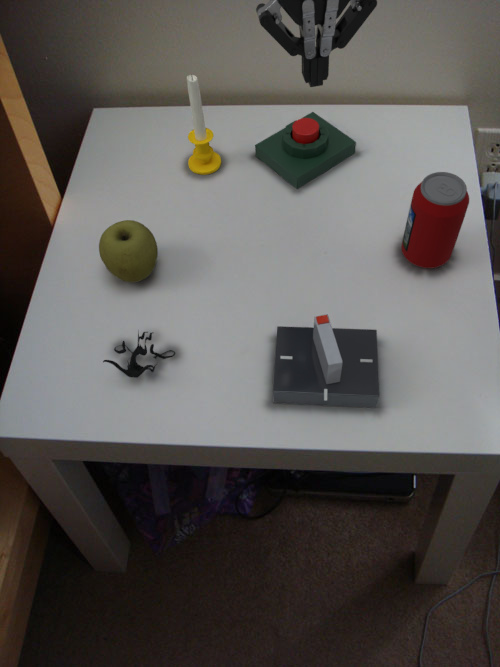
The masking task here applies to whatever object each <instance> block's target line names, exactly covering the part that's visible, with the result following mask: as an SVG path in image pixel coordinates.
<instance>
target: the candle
mask: <svg viewBox="0 0 500 667" xmlns="http://www.w3.org/2000/svg"><path fill="white" fill-rule="evenodd" d="M186 83H187V84H186V85H187V92H188V99H189V105H190V111H191V117H192V124H193V125H192V126H193V129H192V130H191V131H189V132H188V135H187V139H188V142H190V143H191V144H193V145H194V149H193V150H192V154H191V156H190V157H189V159H188V160H187V166H188V168H189V170H190V171H191V172H192V173H194V174H196V175H200V176H205V175H210V174H213V173H215V172H216V171H218V170H220V168H221V166H222V157H221V155H220V154H219V153H218V152H216V151H215V150H214V147H212V146H211V145H210V142H211V141H212V140H213V139H214V137H215V136H214V134H215V133H214V132H213V130H212V129H210V128H208V127H206V123H205V122H206V121H205V116H204V109H203V103H202V102H203V101H202V96H201V89H200V85H199V79H198V77H197V76H196V75H194V74H192V73H191V74H189V75H187V76H186Z"/></svg>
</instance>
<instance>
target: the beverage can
mask: <svg viewBox="0 0 500 667" xmlns="http://www.w3.org/2000/svg"><path fill="white" fill-rule="evenodd" d="M469 205H470V195H469V193H468V188H467V184H466V182H465V181H464V180H463V179H462V178H461V177H460V176H458V175H456V174H454V173H451V172H447V171H436V172H432V173H429V174H428V175H426V176H425V177H424V178H423V179H422V181H421V182H419V183H418V184H417V185H416V186H415V188H414V190H413V192H412V197H411V200H410V206H409V210H408V214H407V218H406V223H405V227H404V230H403V231H404V232H403V236H402V241H401V245H400V246H401V253H402V255H403V257H404V258H405V259H406V260H407V262H409V263H411V264H412V265H414V266H416V267H419V268H423V269H435V268H439V267H442V266H443V265H445V264H447V262H449V260H450V259H451V257H452V255H453V252H454V249H455V246H456V243H457V240H458V238H459V235H460V232H461V229H462V226H463V223H464V220H465V217H466V214H467V211H468V208H469Z"/></svg>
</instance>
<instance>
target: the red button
mask: <svg viewBox="0 0 500 667" xmlns="http://www.w3.org/2000/svg"><path fill="white" fill-rule="evenodd" d="M296 120H297V121H296ZM296 120H294V121H295V122H294V121H293V122H294V124H293V126H292V137H293V139H294V141H296V142H297V143H301V144H309V143H313V142H315V141H316V140H317V139H318V137H319V124H318V122H317V121H315V120H313V119H311V118H303V117H301V118H299V119H296Z"/></svg>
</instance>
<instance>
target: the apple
mask: <svg viewBox="0 0 500 667" xmlns="http://www.w3.org/2000/svg"><path fill="white" fill-rule="evenodd" d="M98 251H99V257H100V259H101V261H102V263H103V264H104V266H105V268H106V269H107V270H108V271H109V272H110V274H112V276H114V277H115V278H116V279H118V280H120V281H122V282H125V283H138V282H142V281H143V280H146V278H148V277H149V276H150V275H151V274H152V272H153V271H154V269H155V267H156V264H157V260H158V253H159V252H158V251H159V250H158V242H157V240H156V237H155V236H154V234H153V233H152V231H151V230H150V228H148V227H147V226H146V225H145V224H143V223H141V222H139V221H136V220H132V219H125V220H124V219H123V220H120V221H118V222H115V223H113V224H111V225H109V227H107V228H106V229H105V230H104V231H103V232H102V234H101V236H100V238H99V241H98Z"/></svg>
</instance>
